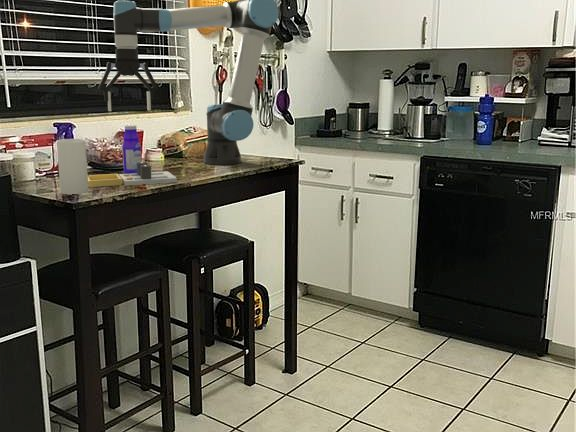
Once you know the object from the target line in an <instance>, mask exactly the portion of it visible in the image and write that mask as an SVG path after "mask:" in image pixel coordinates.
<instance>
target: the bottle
mask: <svg viewBox="0 0 576 432" xmlns="http://www.w3.org/2000/svg"><path fill="white" fill-rule="evenodd" d="M122 140H123V142H122V159H123V160H122V161H123V174H131V173H137V162H143V161H142V146H141V143H140V136H139V135H138V131H137V125H136V124H126V125H124V134H123V137H122Z"/></svg>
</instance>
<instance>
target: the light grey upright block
mask: <svg viewBox="0 0 576 432" xmlns="http://www.w3.org/2000/svg"><path fill="white" fill-rule="evenodd" d="M56 149H57V150H56V151H57V163H58V165H57V166H58V176H59V187H60V188H59V189H60V194H61V195H65V194H67V195H66V196H68V195H69V196H73V195H72V194H78V195H83V194H82V193H84V194H88V193H89V188H90V187H88V162H87V149H86V139H83V138H64V139H63V138H62V139H58V140H56Z"/></svg>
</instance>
